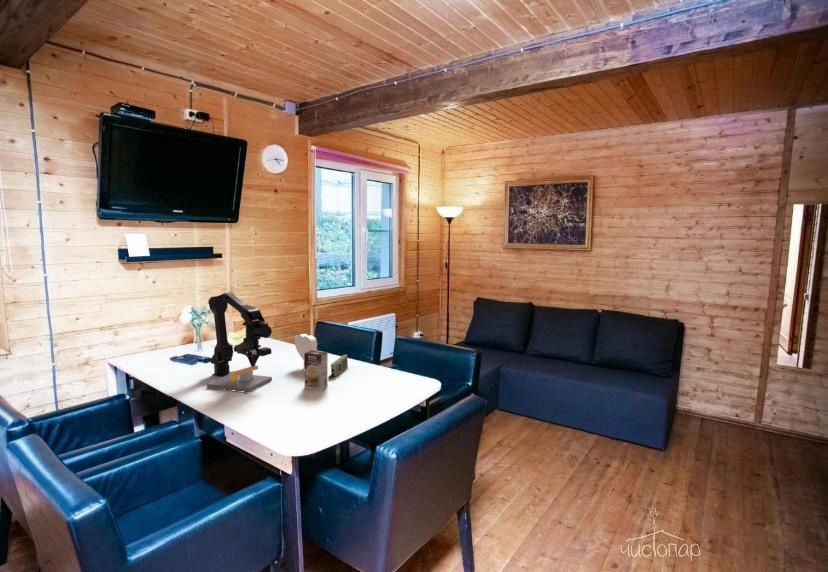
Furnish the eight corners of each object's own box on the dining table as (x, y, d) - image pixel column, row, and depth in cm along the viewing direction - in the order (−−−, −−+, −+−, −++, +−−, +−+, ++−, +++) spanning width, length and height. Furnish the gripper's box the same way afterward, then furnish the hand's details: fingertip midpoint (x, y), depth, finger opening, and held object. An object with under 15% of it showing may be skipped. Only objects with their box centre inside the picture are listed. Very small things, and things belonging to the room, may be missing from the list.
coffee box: (303, 387, 205) (303, 353, 203) (311, 383, 211) (310, 349, 209) (321, 389, 202) (320, 354, 200) (328, 385, 208) (328, 351, 206)
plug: (240, 384, 208) (239, 372, 207) (245, 382, 212) (245, 369, 211) (247, 385, 207) (247, 372, 206) (252, 382, 210) (252, 370, 210)
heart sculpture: (318, 370, 232) (318, 336, 230) (310, 372, 228) (310, 338, 226) (301, 364, 242) (301, 332, 241) (293, 366, 239) (293, 333, 237)
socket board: (206, 388, 202) (206, 383, 202) (232, 376, 219) (232, 372, 219) (248, 392, 196) (248, 388, 196) (271, 380, 213) (271, 376, 213)
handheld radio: (348, 366, 240) (332, 380, 216) (343, 366, 241) (326, 380, 216) (348, 354, 240) (332, 367, 215) (342, 354, 240) (325, 366, 216)
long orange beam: (229, 384, 200) (229, 372, 199) (255, 376, 212) (254, 365, 212) (233, 385, 198) (233, 373, 198) (259, 377, 211) (258, 365, 210)
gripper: (224, 336, 206) (225, 369, 208) (254, 340, 198) (254, 374, 200) (242, 331, 216) (243, 363, 218) (272, 336, 208) (272, 368, 210)
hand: (252, 367), depth 211 cm, fingers closed
